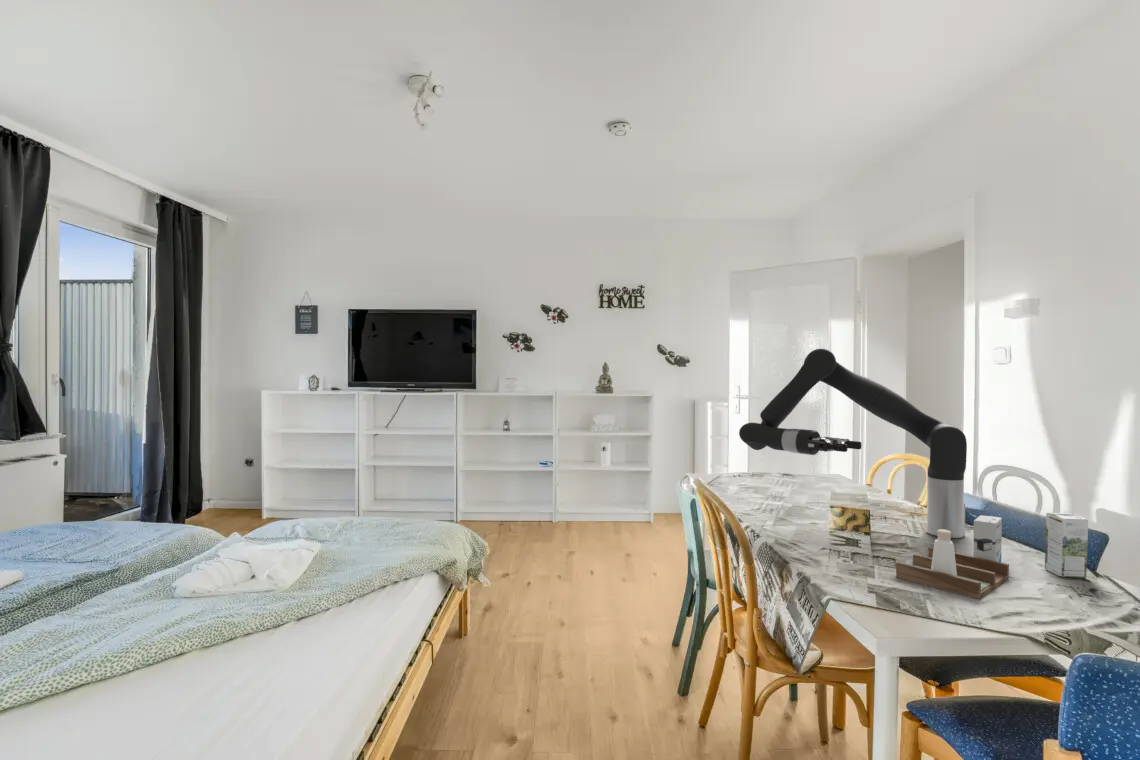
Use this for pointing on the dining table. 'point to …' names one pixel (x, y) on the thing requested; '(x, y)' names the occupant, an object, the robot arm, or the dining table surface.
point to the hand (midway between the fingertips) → (854, 446)
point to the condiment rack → (971, 574)
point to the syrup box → (1066, 544)
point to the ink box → (988, 537)
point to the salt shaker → (944, 554)
